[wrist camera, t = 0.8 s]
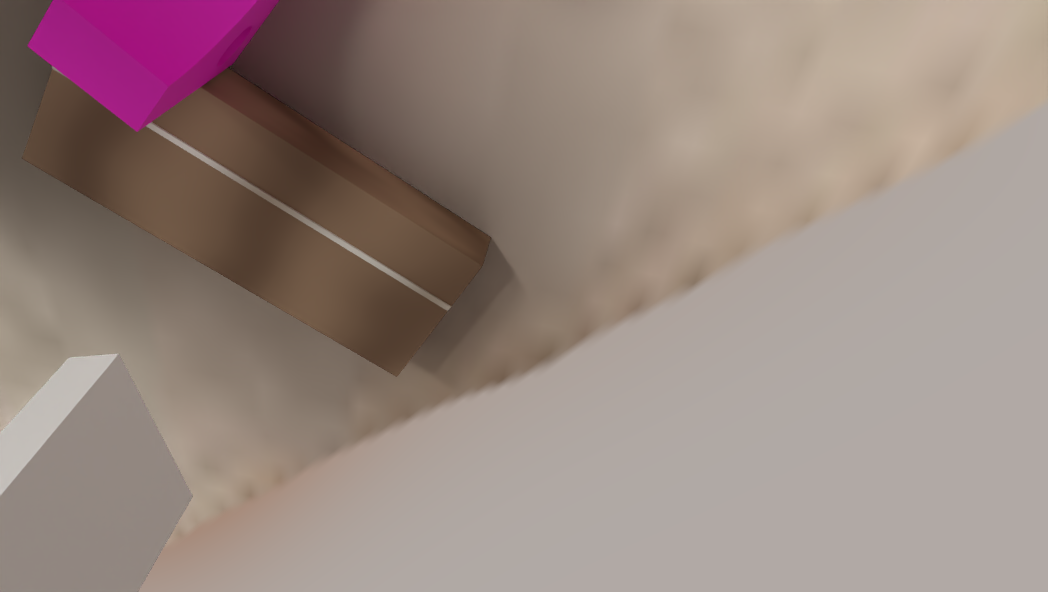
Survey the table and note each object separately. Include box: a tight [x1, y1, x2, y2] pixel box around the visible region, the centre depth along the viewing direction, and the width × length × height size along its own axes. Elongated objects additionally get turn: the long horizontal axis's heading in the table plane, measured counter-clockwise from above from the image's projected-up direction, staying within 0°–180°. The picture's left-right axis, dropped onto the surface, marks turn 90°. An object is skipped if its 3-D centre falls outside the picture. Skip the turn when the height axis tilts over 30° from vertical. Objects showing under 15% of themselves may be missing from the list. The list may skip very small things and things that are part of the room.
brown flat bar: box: [22, 66, 491, 377], centre depth 33 cm, size 17×7×2 cm, turn 56°
